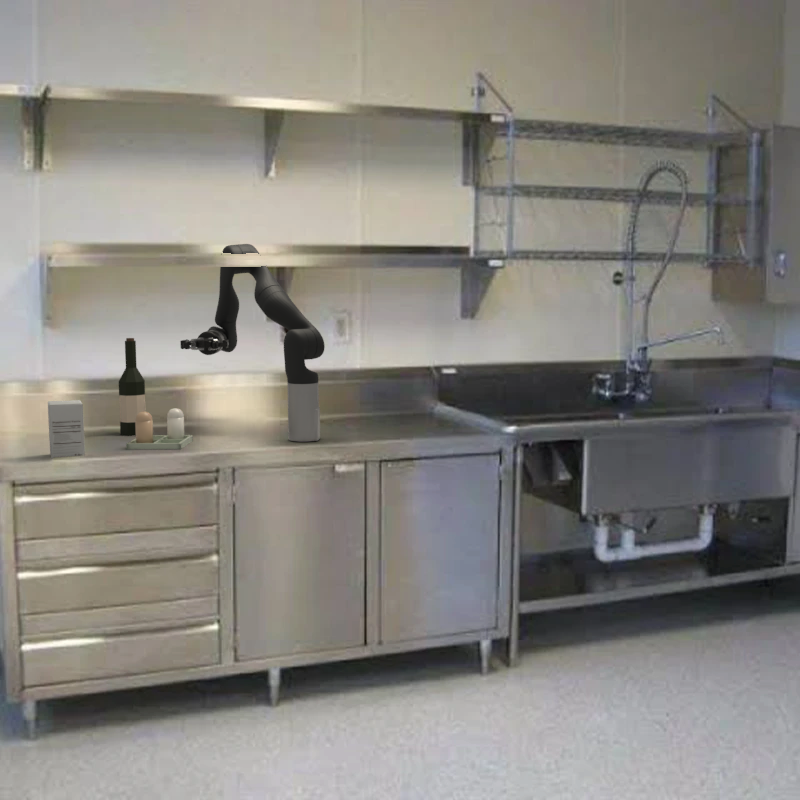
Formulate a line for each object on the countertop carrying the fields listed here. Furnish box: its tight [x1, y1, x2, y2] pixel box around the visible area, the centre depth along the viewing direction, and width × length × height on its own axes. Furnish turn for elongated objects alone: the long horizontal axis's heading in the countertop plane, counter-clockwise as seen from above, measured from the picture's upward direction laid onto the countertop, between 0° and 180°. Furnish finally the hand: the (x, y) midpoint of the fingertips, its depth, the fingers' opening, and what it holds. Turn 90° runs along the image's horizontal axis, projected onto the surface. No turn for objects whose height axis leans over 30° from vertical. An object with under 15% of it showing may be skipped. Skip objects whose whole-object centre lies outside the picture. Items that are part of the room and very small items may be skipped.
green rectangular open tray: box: [125, 434, 194, 450], centre depth 301 cm, size 15×15×2 cm
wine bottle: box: [118, 337, 147, 437], centre depth 324 cm, size 8×8×30 cm
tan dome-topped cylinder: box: [135, 411, 154, 443], centre depth 297 cm, size 5×5×10 cm
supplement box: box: [47, 399, 86, 459], centre depth 286 cm, size 9×9×15 cm
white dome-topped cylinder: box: [166, 407, 185, 439], centre depth 304 cm, size 5×5×10 cm
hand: (199, 345), depth 316 cm, fingers open, 8 cm apart
